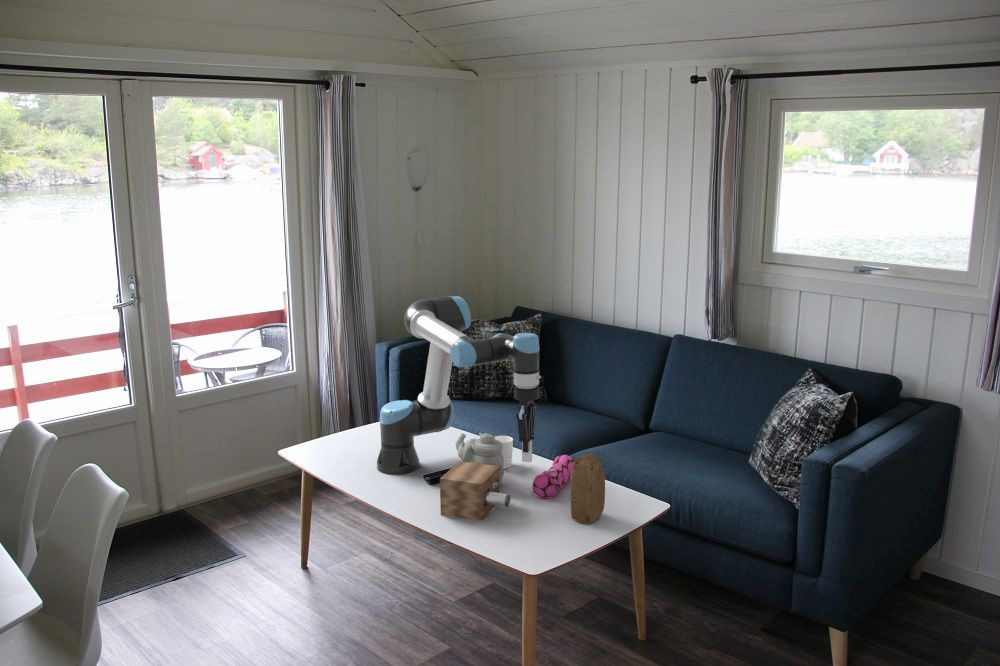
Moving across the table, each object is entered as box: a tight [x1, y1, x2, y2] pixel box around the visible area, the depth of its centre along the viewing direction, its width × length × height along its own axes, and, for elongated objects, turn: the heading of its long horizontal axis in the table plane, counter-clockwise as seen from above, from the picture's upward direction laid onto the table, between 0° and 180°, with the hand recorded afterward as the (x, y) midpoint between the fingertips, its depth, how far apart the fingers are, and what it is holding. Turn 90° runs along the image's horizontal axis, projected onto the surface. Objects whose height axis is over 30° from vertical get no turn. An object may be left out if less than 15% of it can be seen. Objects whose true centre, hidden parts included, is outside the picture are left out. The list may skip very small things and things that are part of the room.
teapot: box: [455, 432, 505, 487], centre depth 292 cm, size 16×15×19 cm
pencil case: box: [532, 454, 575, 500], centre depth 288 cm, size 21×10×10 cm, turn 158°
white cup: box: [494, 435, 514, 470], centre depth 309 cm, size 8×8×10 cm
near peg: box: [484, 491, 511, 508], centre depth 267 cm, size 14×4×4 cm, turn 71°
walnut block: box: [439, 460, 501, 522], centre depth 273 cm, size 14×16×12 cm
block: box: [570, 453, 606, 524], centre depth 264 cm, size 11×8×20 cm
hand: (527, 461), depth 260 cm, fingers closed
